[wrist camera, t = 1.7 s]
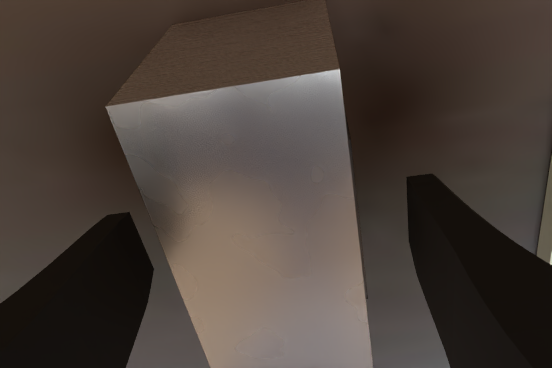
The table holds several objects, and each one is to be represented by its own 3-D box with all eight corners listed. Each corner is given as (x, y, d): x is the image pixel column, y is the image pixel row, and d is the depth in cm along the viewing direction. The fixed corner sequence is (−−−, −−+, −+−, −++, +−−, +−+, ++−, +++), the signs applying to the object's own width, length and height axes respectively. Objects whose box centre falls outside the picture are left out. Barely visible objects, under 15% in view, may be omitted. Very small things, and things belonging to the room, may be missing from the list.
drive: (355, 238, 18) (377, 375, 13) (239, 251, 19) (218, 387, 14) (327, -5, 14) (345, 68, 9) (173, 23, 14) (105, 106, 9)
